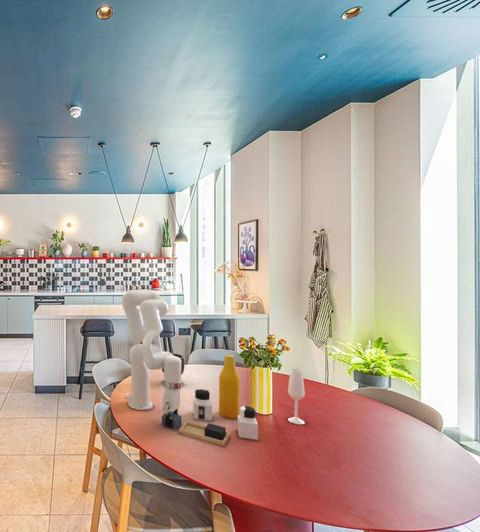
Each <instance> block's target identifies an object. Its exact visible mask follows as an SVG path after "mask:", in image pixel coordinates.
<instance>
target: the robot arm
mask: <svg viewBox="0 0 480 532" xmlns="http://www.w3.org/2000/svg"><path fill="white" fill-rule="evenodd" d="M121 304H122V305H121V306H122V308H123V311H124V314H125V317H126V322H127V328H128V334H129V339H130V340H131V341H132V342H134V343H140V342H141V344H135V345H132V346H131V347H130V349H129V359H130V368H131V369H130V370H131V371H130V372H131V373H130V374H131V375H130V376H131V377H130V378H131V379H130V380H131V383H130V384H131V385H130V387H131V388H130V389H131V390H130V394H129V393H125V394H124V399H125V400H128V402H127V405H128V407H129V408H131V409H133V410H137V411H148V410H151V409H153V408H154V403H153V402H152V401H151V372H150V371H155V370H156V371H157V370H162V369H164V373H163V380H164V384H163V393H162V394H163V395H162V405H161V406H162V408H161V409H162V411H163V415H164V414H165V426H164V427H167V428H170V427H171V429H173V428H172V422H173V419H172V413H174V414H177V415H179V407H180V405H181V390H182V386H181V382H182V375H181V359H180V358H179V357H176V356H174V355H173V354H171V353H172V352H170V351H163V348H162V343H161V337H160V334H161V333H162V332H163V331H164V326H163V323H162V320H161V317H163V316H167V314H168V312H169V306H168V303H167V302H166V300H165V299H164V298H163V297H162V296H161V295H159V294H158V293H156V291H154V290H152V289H131V290H127V291H125V292H124V293H123V295H122V298H121ZM138 307H139V308H138ZM168 412H170V414H168Z"/></svg>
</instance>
